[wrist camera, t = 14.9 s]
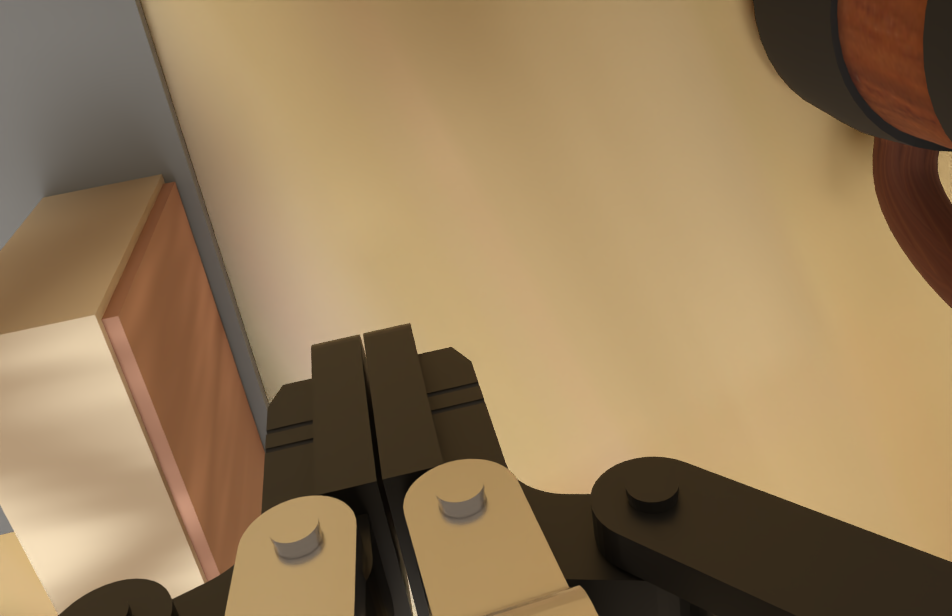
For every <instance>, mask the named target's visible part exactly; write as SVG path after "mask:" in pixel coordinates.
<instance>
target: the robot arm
mask: <svg viewBox="0 0 952 616" xmlns="http://www.w3.org/2000/svg"><path fill="white" fill-rule="evenodd" d="M363 336H364V344H365V351H364V347H363V344H362V340H361V337H360V335H355V336H350V337H346V338H341V339H337V340H332V341H328V342H323V343H319V344H314V345H312V346H311V360H312V379H308V380H303V381H299V382H294V383H290V384H285V385H283V386H282V387H281V389H280V390H279V392H278V393H277V395H276V396H275V398H274V399H273V401H272V402H271V404H270V405H269V407H268V409H267V426H266V431H267V435H266V443H265V450H266V454H265V460H264V476H263V493H262V510H261V515H260V516H259V517H258V518H257V519H255V520H254V521H253V522H252V523H251V524H250V525H249V527H248V528H247V529H246V531H245V532H244V534H243V536H242V537H241V539H240V542H239V545H238V549H237V555H236V560H235V564H234V565H233V566H232V567H230V568H229V569H228V570H226V571H225V572H223V573H222V574H220V575H219V576H217V577H215V578H214V579H212V580H210V581H208V582H206V583H204V584H202V585H200V586H198V587H196V588H194V589H192V590H190V591H188V592H186V593H184V594H182V595H179V596H177V597H175V598H173V599H172V598H171V596H170V594H169V592H168V591H167V589H166V588H165V587H164V586H162V585H161V584H159V583H157V582H155V581H152V580H148V579H138V578H136V579H125V580H120V581H116V582H113V583H110V584H106V585H104V586H102V587H99V588H97V589H95V590H93V591H91V592H89V593H87V594H85V595H84V596H82V597H81V598H79V599H78V600H76V601H75V602H73V603H72V604H71V605H70V606H69V607H67V608H66V609H65V610H64V611H63V612H62V613H60V614H59V615H58V616H413V612H412V605H411V598H410V591H409V585H408V580H409V584H410V587H411V591H412V595H413V599H414V603H415V607H416V610H417V614H418V616H952V562H950V561H947V560H944V559H942V558H939V557H936V556H934V555H931V554H928V553H926V552H923V551H920V550H918V549H915V548H912V547H910V546H907V545H904V544H902V543H899V542H896V541H894V540H891V539H888V538H886V537H883V536H880V535H878V534H875V533H872V532H870V531H867V530H864V529H862V528H859V527H856V526H854V525H851V524H848V523H846V522H843V521H840V520H838V519H835V518H832V517H830V516H827V515H824V514H822V513H819V512H816V511H814V510H811V509H808V508H806V507H803V506H800V505H798V504H795V503H792V502H790V501H787V500H784V499H782V498H779V497H776V496H774V495H771V494H768V493H766V492H763V491H760V490H758V489H755V488H752V487H750V486H747V485H744V484H742V483H739V482H736V481H734V480H731V479H728V478H726V477H723V476H720V475H718V474H715V473H712V472H710V471H707V470H704V469H702V468H699V467H696V466H693V465H691V464H688V463H685V462H682V461H679V460H676V459H671V458H665V457H642V458H636V459H632V460H628V461H624V462H622V463H620V464H617V465H615V466H613V467H612V468H610V469H608V470H607V471H606V472H605V473H603V474H602V475H601V476H600V477H599V478H598V480H597V481H596V482H595V484H594V486H593V488H592V492H591V494H555V493H549V492H544V491H540V490H537V489H534V488H532V487H529V486H527V485H525V484H524V483H522V482H520V481H519V480H518V479H517V478H516V477H515V475H514V474H513V473H512V472H511V471H510V470H509V469H508V467H507V465H506V463H505V460H504V457H503V454H502V451H501V448H500V445H499V442H498V439H497V436H496V433H495V430H494V427H493V424H492V421H491V419H490V416H489V413H488V410H487V407H486V404H485V402H484V398H483V395H482V392H481V389H480V386H479V384H478V380H477V377H476V374H475V371H474V368H473V365H472V362H471V361H470V360H468V359H467V358H466V357H464V356H463V355H462V354H460V353H459V352H458V351H456V350H455V349H454V348H452V347H449V348H445V349H440V350H436V351H431V352H427V353H423V354H417V350H416V346H415V341H414V337H413V333H412V329H411V325H410V323H408V324H404V325H399V326H395V327H390V328H386V329H381V330H377V331H372V332H368V333H364V334H363ZM365 352H366V355H365ZM407 576H408V578H407Z"/></svg>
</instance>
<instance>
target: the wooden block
mask: <svg viewBox="0 0 952 616" xmlns="http://www.w3.org/2000/svg"><path fill="white" fill-rule="evenodd" d="M264 460H265V452H264V449H263V446H262V443H261V440H260V436H259V433H258V430H257V427H256V424H255V421H254V418H253V415H252V412H251V409H250V406H249V403H248V400H247V397H246V394H245V391H244V388H243V385H242V382H241V379H240V376H239V373H238V370H237V367H236V364H235V361H234V358H233V355H232V352H231V349H230V346H229V343H228V340H227V337H226V334H225V331H224V328H223V325H222V322H221V319H220V316H219V313H218V310H217V307H216V304H215V301H214V298H213V295H212V292H211V289H210V286H209V283H208V279H207V276H206V273H205V270H204V267H203V264H202V261H201V258H200V255H199V252H198V249H197V246H196V243H195V240H194V237H193V234H192V231H191V228H190V225H189V222H188V219H187V216H186V213H185V210H184V207H183V204H182V201H181V198H180V195H179V192H178V189H177V186H176V183H175V182H170V183H165V182H164V179H163V176H162V174H160V175H155V176H150V177H145V178H140V179H135V180H129V181H124V182H119V183H114V184H109V185H104V186H99V187H94V188H89V189H84V190H79V191H74V192H69V193H64V194H59V195H54V196H49V197H44V198H42V199H41V201H40V202H39V203H38V204H37V206H36V207H35V208H34V209H33V211H32V212H31V213H30V214H29V216H28V217H27V218H26V219H25V221H24V222H23V223H22V224H21V226H20V227H19V228H18V229H17V231H16V232H15V233H14V234H13V236H12V237H11V238H10V239H9V241H8V242H7V243H6V244H5V246H4V247H3V248H2V249H1V251H0V506H1V507H2V509H3V511H4V513H5V515H6V517H7V519H8V521H9V523H10V525H11V526H12V528H13V530H14V532H15V534H16V536H17V538H18V540H19V542H20V544H21V545H22V547H23V549H24V551H25V553H26V555H27V557H28V559H29V561H30V563H31V564H32V566H33V568H34V570H35V572H36V574H37V576H38V578H39V580H40V581H41V583H42V585H43V587H44V589H45V591H46V593H47V595H48V597H49V599H50V600H51V602H52V604H53V606H54V608H55V610H56V612H57V614H58V615H59V614H60V613H62V612H63V611H64V610H65V609H66V608H67V607H69V606H70V605H71V604H72V603H73V602H75V601H76V600H78V599H79V598H81V597H82V596H84V595H85V594H87V593H89V592H91V591H93V590H95V589H97V588H99V587H102V586H104V585H106V584H110V583H113V582H116V581H120V580H125V579H136V578H138V579H148V580H152V581H155V582H157V583H159V584H161V585H162V586H164V587H165V588H166V589H167V591H168V592H169V594H170V596H171V598H172V599H173V598H175V597H177V596H179V595H182V594H184V593H186V592H188V591H190V590H192V589H194V588H196V587H198V586H200V585H202V584H204V583H206V582H208V581H210V580H212V579H214V578H215V577H217V576H219V575H220V574H222V573H223V572H225V571H226V570H228V569H229V568H230V567H232V566H233V565H234V564H235V560H236V555H237V549H238V545H239V542H240V539H241V537H242V536H243V534H244V532H245V531H246V529H247V528H248V527H249V525H250V524H251V523H252V522H253V521H254V520H255V519H257V518H258V517H259V516H260V515H261V510H262V493H263V476H264Z"/></svg>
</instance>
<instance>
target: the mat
mask: <svg viewBox="0 0 952 616" xmlns="http://www.w3.org/2000/svg"><path fill="white" fill-rule="evenodd" d="M160 174H162V176H163V179H164V182H165V183H170V182H175V183H176V186H177V189H178V192H179V195H180V198H181V201H182V204H183V207H184V210H185V213H186V216H187V219H188V222H189V225H190V228H191V231H192V234H193V237H194V240H195V243H196V246H197V249H198V252H199V255H200V258H201V261H202V264H203V267H204V270H205V273H206V276H207V279H208V283H209V286H210V289H211V292H212V295H213V298H214V301H215V304H216V307H217V310H218V313H219V316H220V319H221V322H222V325H223V328H224V331H225V334H226V337H227V340H228V343H229V346H230V349H231V352H232V355H233V358H234V361H235V364H236V367H237V370H238V373H239V376H240V379H241V382H242V385H243V388H244V391H245V394H246V397H247V400H248V403H249V406H250V409H251V412H252V415H253V418H254V421H255V424H256V427H257V430H258V433H259V436H260V440H261V443H262V446H263V449H264V452H265V454H266V450H265V443H266V435H267V431H266V426H267V409H268V407H269V404H268V401H267V397H266V394H265V391H264V388H263V385H262V382H261V379H260V376H259V372H258V369H257V366H256V363H255V360H254V357H253V354H252V351H251V347H250V344H249V341H248V338H247V335H246V332H245V329H244V326H243V322H242V319H241V316H240V313H239V310H238V307H237V304H236V301H235V297H234V294H233V291H232V288H231V285H230V282H229V279H228V276H227V272H226V269H225V266H224V263H223V260H222V257H221V254H220V251H219V247H218V244H217V241H216V238H215V235H214V232H213V229H212V226H211V222H210V219H209V216H208V213H207V210H206V207H205V204H204V201H203V197H202V194H201V191H200V188H199V185H198V182H197V179H196V176H195V172H194V169H193V166H192V163H191V160H190V157H189V154H188V151H187V147H186V144H185V141H184V138H183V135H182V132H181V129H180V126H179V122H178V119H177V116H176V113H175V110H174V107H173V104H172V101H171V97H170V94H169V91H168V88H167V85H166V82H165V79H164V76H163V72H162V69H161V66H160V63H159V60H158V57H157V54H156V51H155V48H154V44H153V41H152V38H151V35H150V32H149V29H148V26H147V23H146V19H145V16H144V13H143V10H142V7H141V4H140V1H139V0H0V251H1V249H2V248H3V247H4V246H5V244H6V243H7V242H8V241H9V239H10V238H11V237H12V236H13V234H14V233H15V232H16V231H17V229H18V228H19V227H20V226H21V224H22V223H23V222H24V221H25V219H26V218H27V217H28V216H29V214H30V213H31V212H32V211H33V209H34V208H35V207H36V206H37V204H38V203H39V202H40V201H41V199H42V198H44V197H49V196H54V195H59V194H64V193H69V192H74V191H79V190H84V189H89V188H94V187H99V186H104V185H109V184H114V183H119V182H124V181H129V180H135V179H140V178H145V177H150V176H155V175H160ZM10 532H14V530H13V528H12V526H11V525H10V523H9V521H8V519H7V517H6V515H5V513H4V511H3V509H2V507H1V506H0V535H2V534H6V533H10Z"/></svg>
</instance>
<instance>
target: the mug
mask: <svg viewBox="0 0 952 616" xmlns="http://www.w3.org/2000/svg"><path fill="white" fill-rule="evenodd" d="M753 3H754V11H755V19H756V23H757V27H758V31H759V35H760V39H761V41H762V44H763V46H764V49H765V51H766V53H767V56H768V58H769V60H770V61H771V63H772V65H773V66H774V68H775V70H776V71H777V73H778V74H779V76H780V77H781V78H782V79H783V80H784V82H785V83H786V84H787V85H788V86H789V87H790V88H791V89H792V90H793V91H794V92H795V93H796V94H798V95H799V96H800V97H801V98H802V99H804V100H805V101H807V102H809V103H810V104H812V105H814V106H815V107H817V108H819V109H820V110H822V111H824V112H826V113H827V114H829V115H831V116H832V117H834V118H836V119H837V120H839V121H841V122H843V123H845V124H847V125H849V126H850V127H852V128H854V129H856V130H858V131H860V132H862V133H865V134H868V135H872V136H875V138H874V148H873V177H874V184H875V191H876V194H877V198H878V201H879V204H880V207H881V210H882V213H883V215H884V217H885V219H886V221H887V224H888V226H889V228H890V230H891V232H892V233H893V235H894V237H895V238H896V240H897V242H898V243H899V245H900V247H901V248H902V250H903V251H904V253H905V254H906V255H907V257H908V258H909V260H910V261H911V262H912V264H913V265H914V267H915V268H916V269H917V270H918V272H919V273H920V274H921V275H922V277H923V278H924V279H925V280H926V281H927V283H928V284H929V285H930V286H931V287H932V288H933V289H934V291H935V292H936V293H937V294H938V295H939V296H940V297H941V298H942V299H943V300H944V301H945V302H946V303H947V304H948V305H949V306H950V307H951V308H952V204H951V202H950V200H949V199H948V197H947V195H946V193H945V191H944V189H943V187H942V184H941V182H940V179H939V174H938V155H939V151H952V0H753Z"/></svg>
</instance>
